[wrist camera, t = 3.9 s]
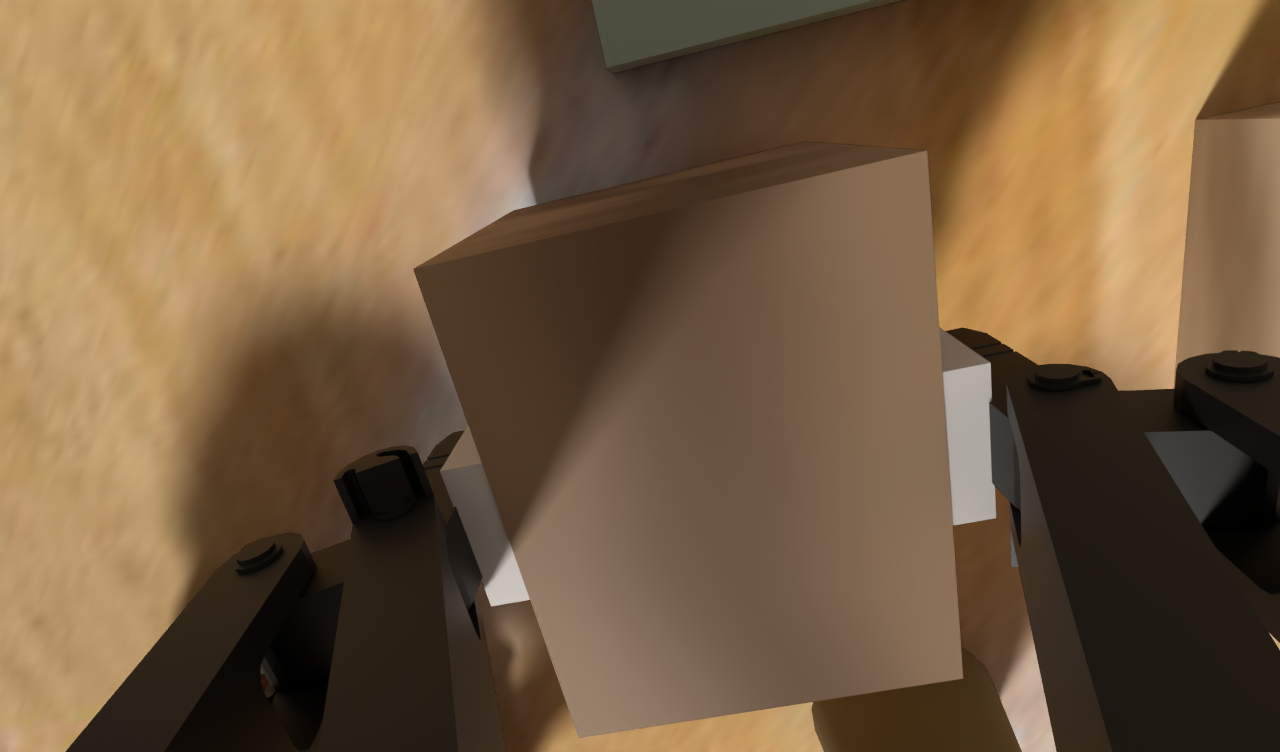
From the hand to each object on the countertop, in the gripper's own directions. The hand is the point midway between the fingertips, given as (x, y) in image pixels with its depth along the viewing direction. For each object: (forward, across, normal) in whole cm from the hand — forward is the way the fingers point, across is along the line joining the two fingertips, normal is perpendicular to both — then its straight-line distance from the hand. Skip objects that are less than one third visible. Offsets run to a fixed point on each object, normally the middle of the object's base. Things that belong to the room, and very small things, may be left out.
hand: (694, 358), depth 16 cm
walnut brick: (0, 0, 0) cm, 0 cm away
